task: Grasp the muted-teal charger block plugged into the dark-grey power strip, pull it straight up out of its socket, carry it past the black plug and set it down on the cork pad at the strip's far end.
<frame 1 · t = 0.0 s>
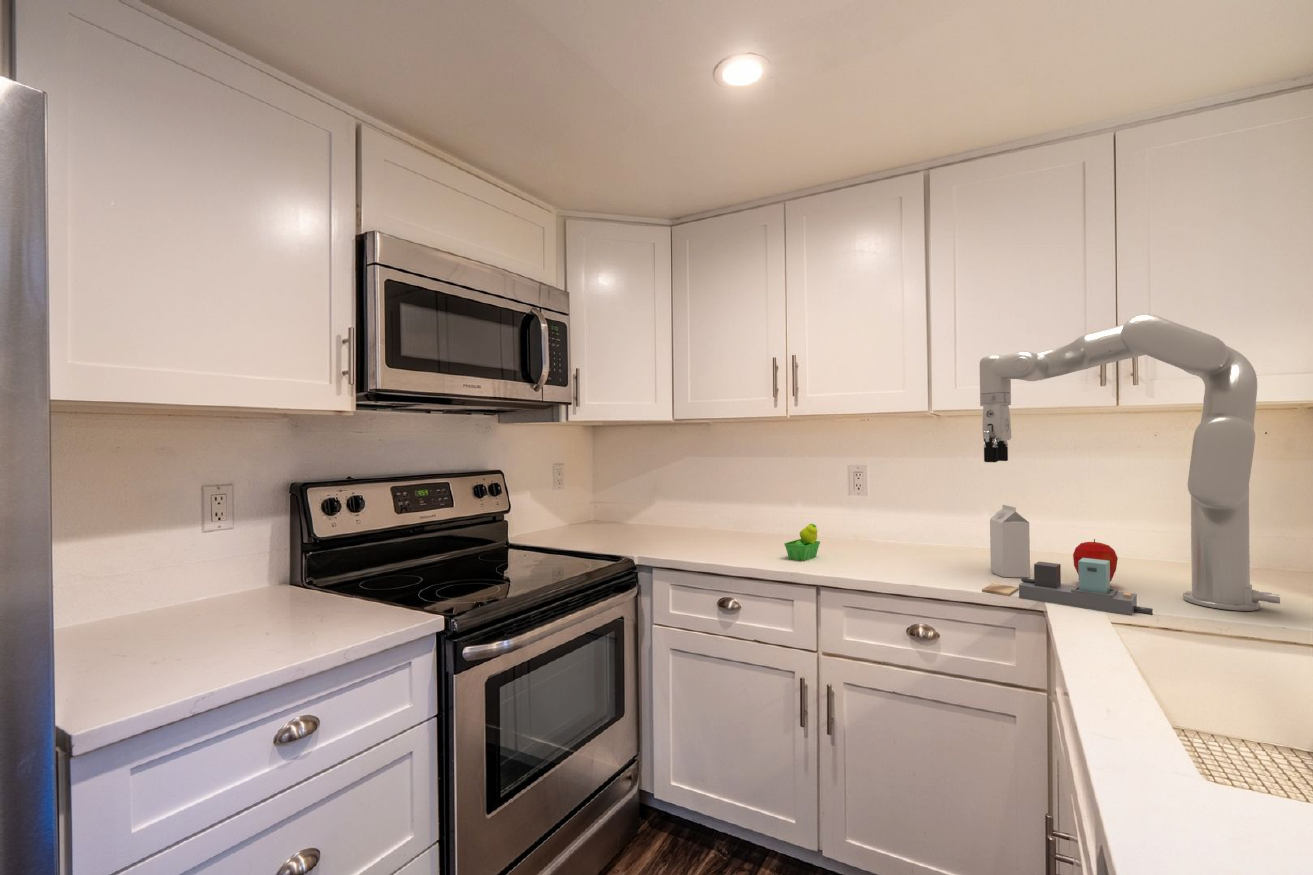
hand: (996, 461, 165), 31 cm above the worktop, fingers open, 9 cm apart
milk carton: (1009, 575, 163), on the worktop
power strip: (1075, 602, 136), on the worktop
cork pad: (1000, 590, 147), on the worktop
apple: (1095, 586, 150), on the worktop
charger: (1094, 591, 133), point 3 cm above the worktop, touching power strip
fruit basket: (804, 558, 189), on the worktop
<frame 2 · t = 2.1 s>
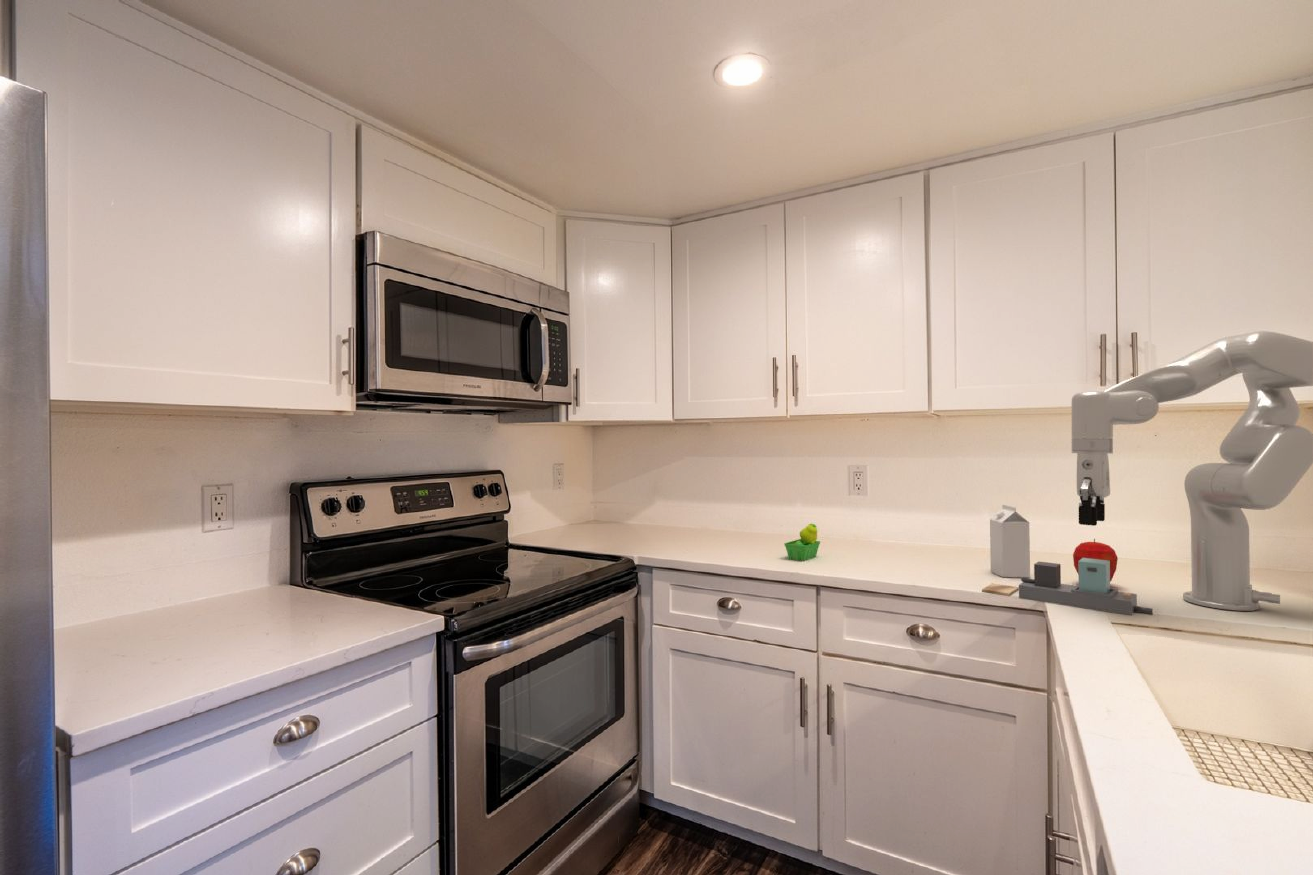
hand: (1091, 522, 133), 19 cm above the worktop, fingers open, 9 cm apart
nothing on the worktop moved.
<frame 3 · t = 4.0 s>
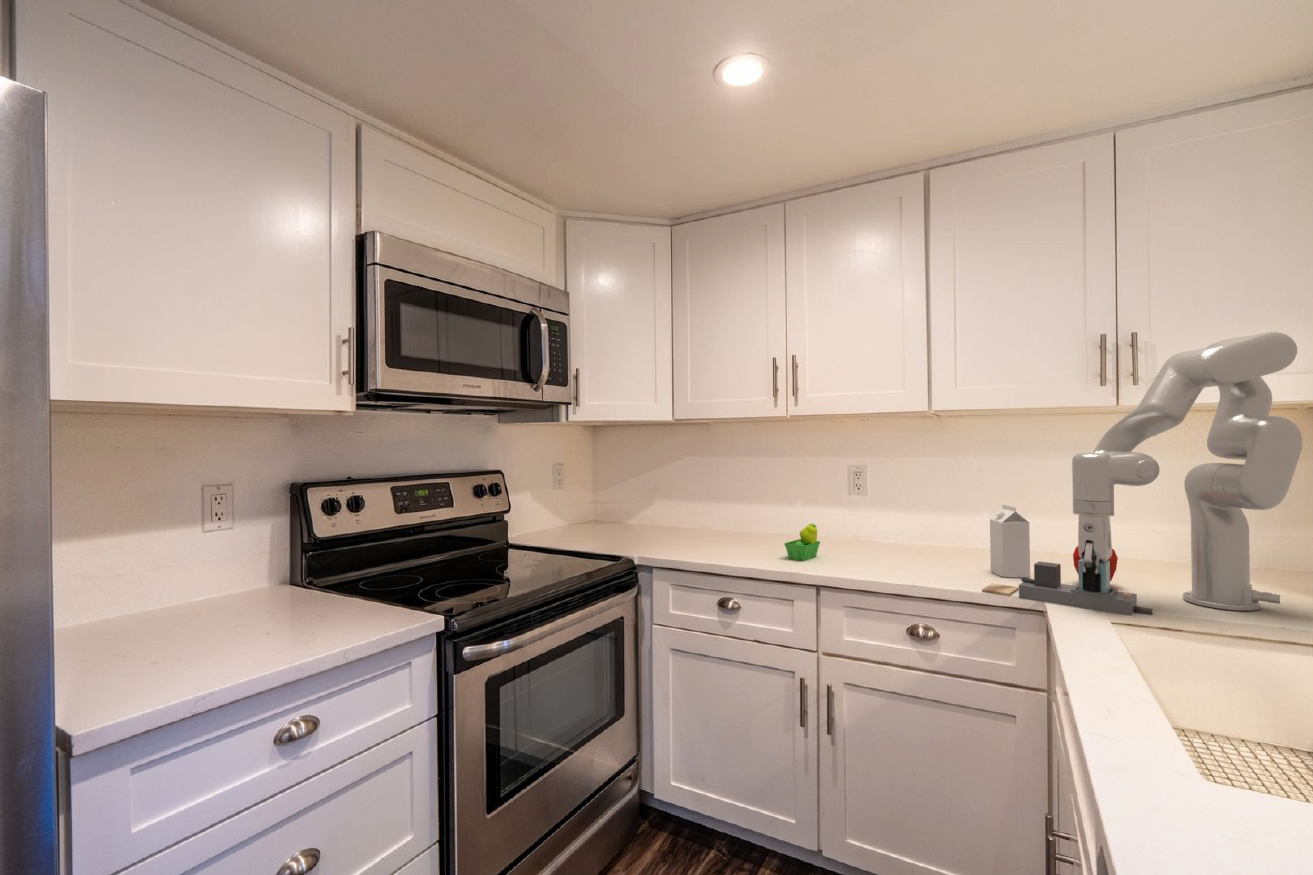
hand: (1094, 587, 133), 4 cm above the worktop, fingers closed on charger, 5 cm apart
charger: (1094, 591, 133), point 3 cm above the worktop, touching gripper, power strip
everything else where it was.
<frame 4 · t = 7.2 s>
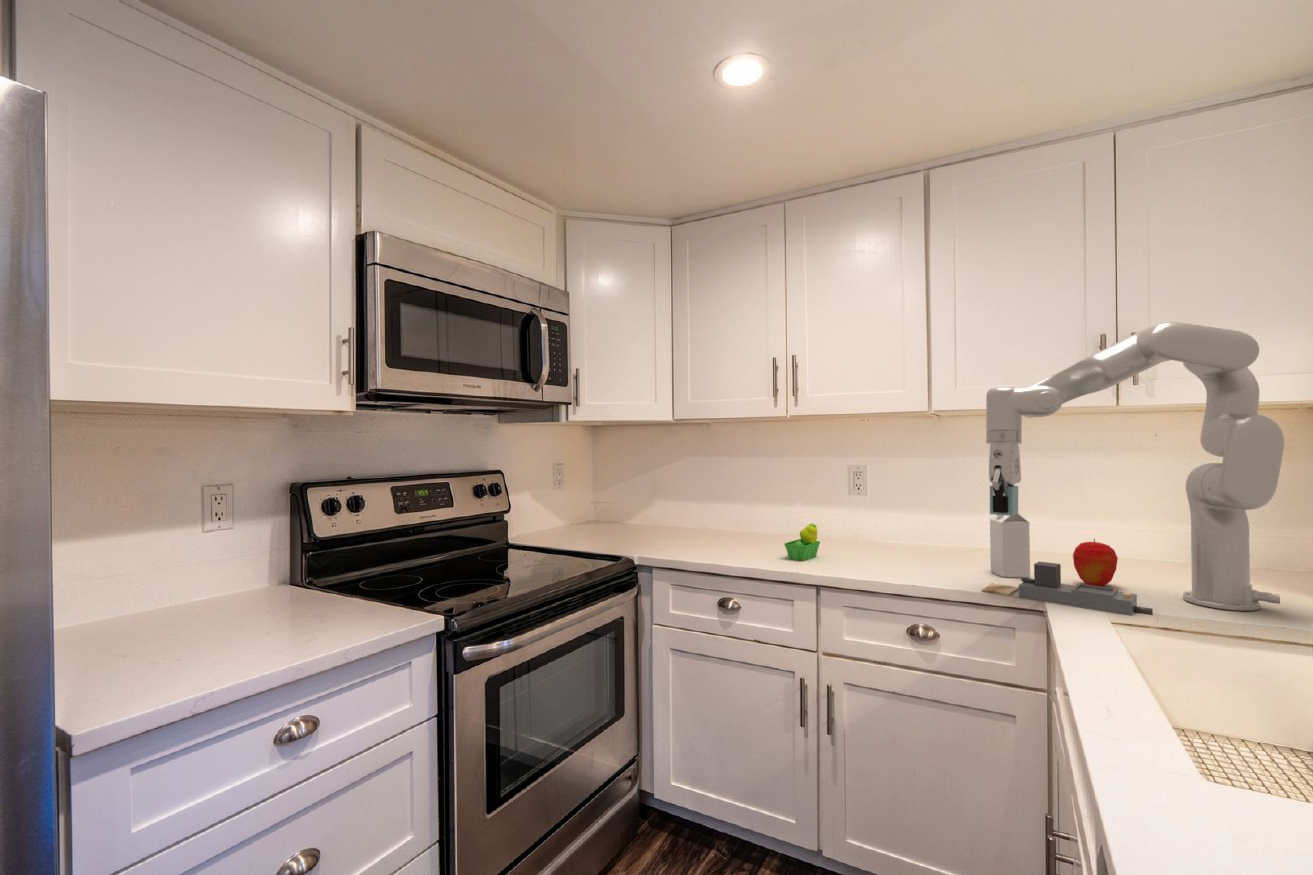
hand: (1003, 510, 146), 20 cm above the worktop, fingers closed on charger, 5 cm apart
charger: (1004, 514, 146), point 19 cm above the worktop, touching gripper
everything else where it was.
when the fingers open (3 cm above the worktop, at t = 10.4 s): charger drops 1 cm, resting on cork pad.
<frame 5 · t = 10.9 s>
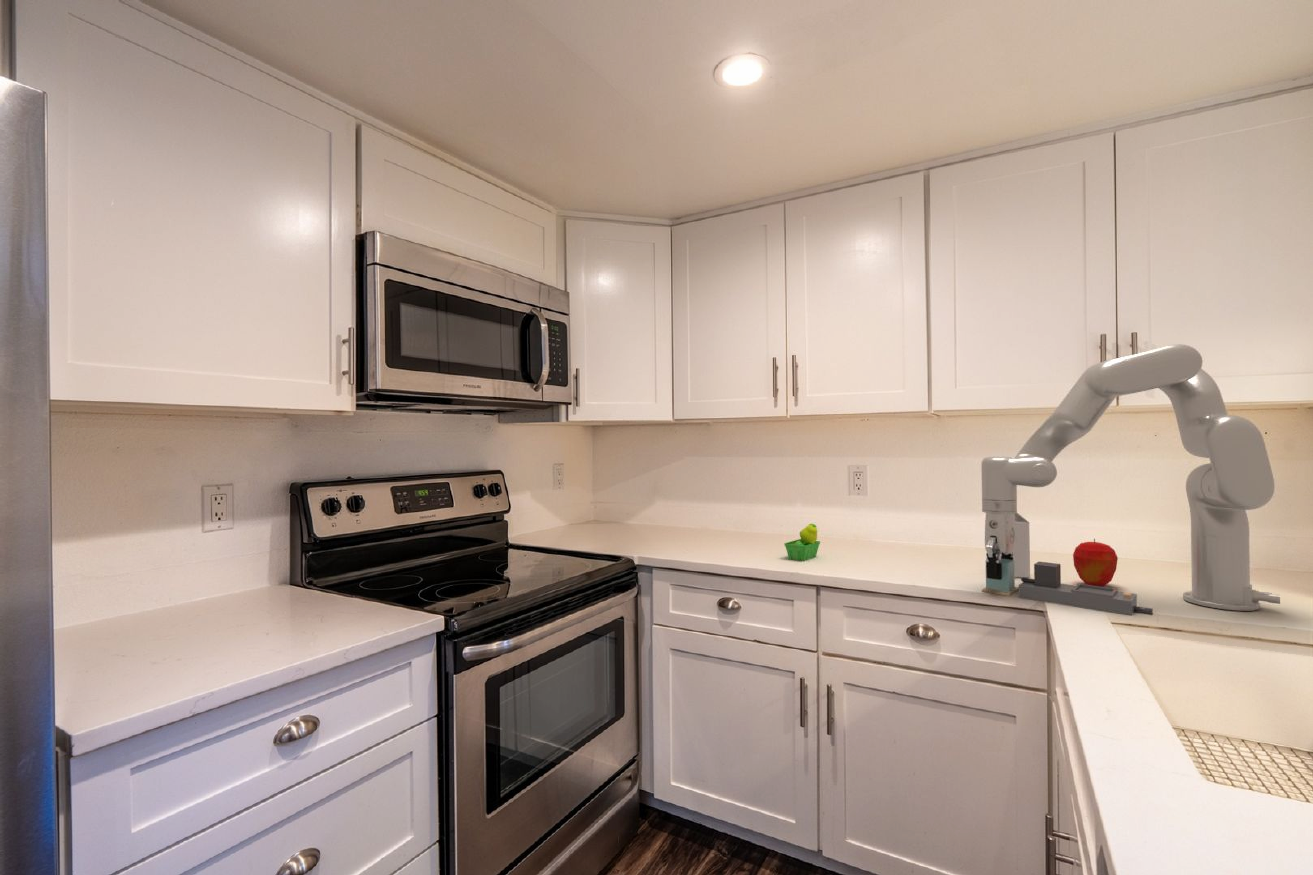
hand: (1000, 575, 147), 4 cm above the worktop, fingers open, 9 cm apart
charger: (1000, 588, 146), point 1 cm above the worktop, touching cork pad
everything else where it was.
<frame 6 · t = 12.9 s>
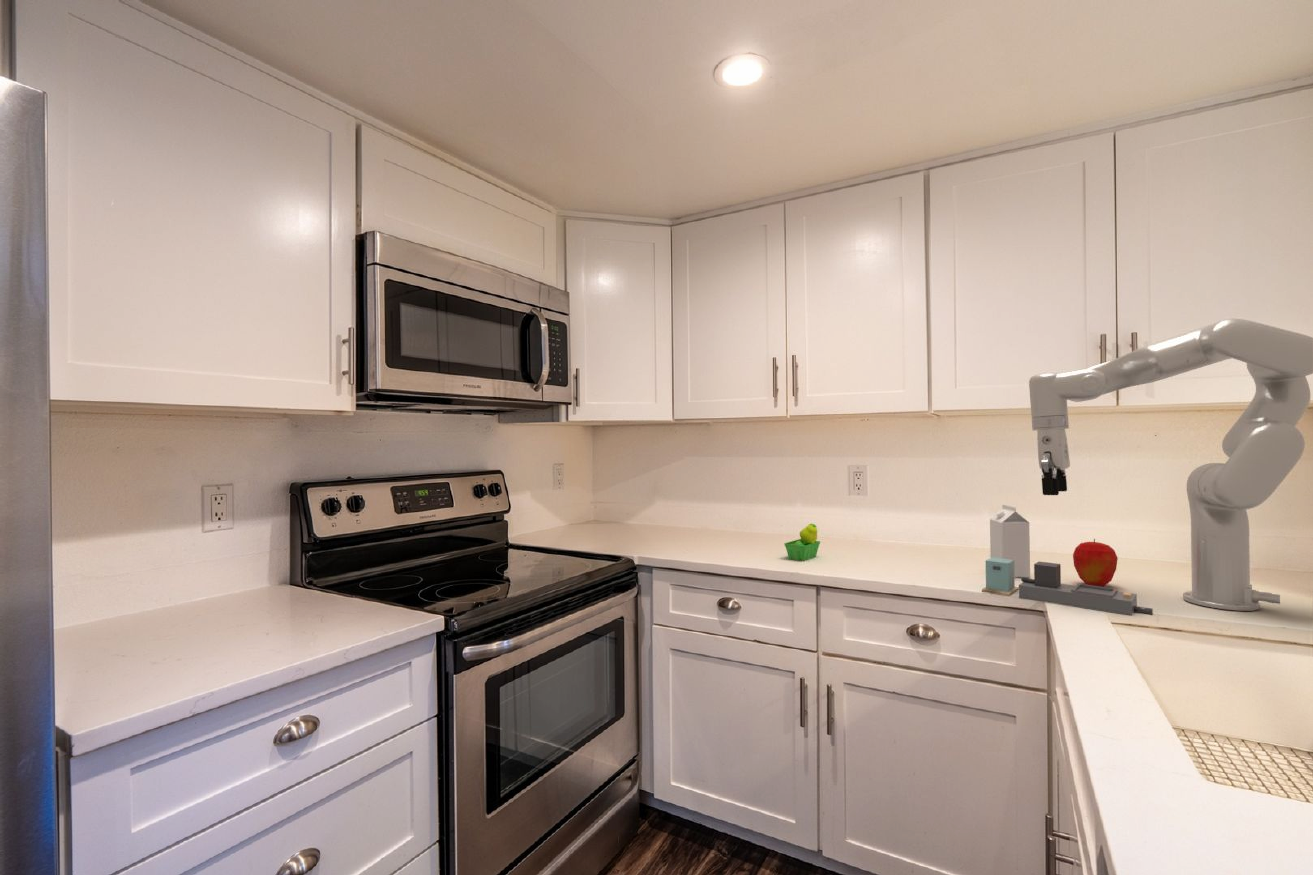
hand: (1055, 493, 145), 24 cm above the worktop, fingers open, 9 cm apart
nothing on the worktop moved.
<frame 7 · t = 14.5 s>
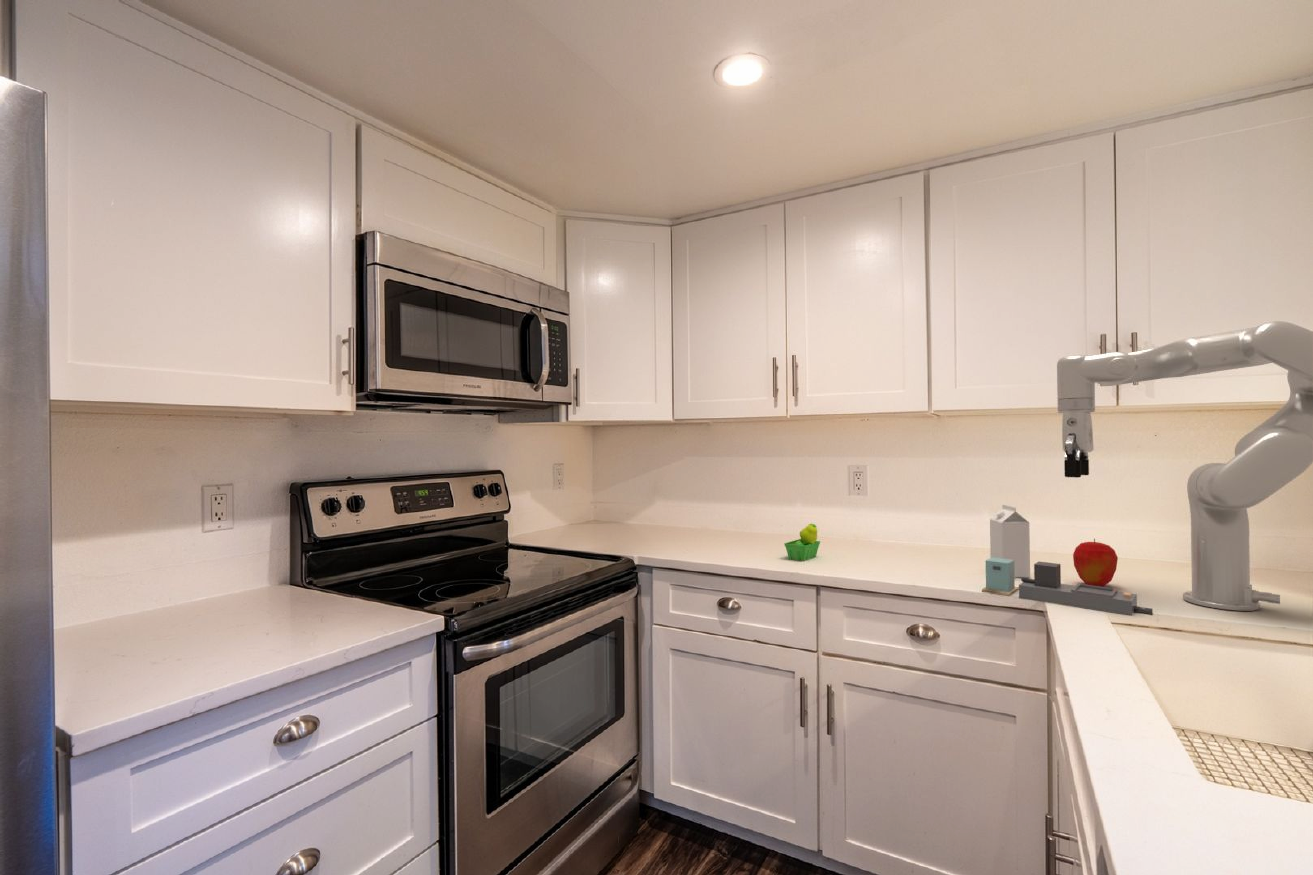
hand: (1077, 476, 145), 28 cm above the worktop, fingers open, 9 cm apart
nothing on the worktop moved.
at the end: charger inside the target area on the cork pad (0.3 cm from its centre), point 0.6 cm above the cork pad's base; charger tilted 0°; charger touching cork pad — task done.
